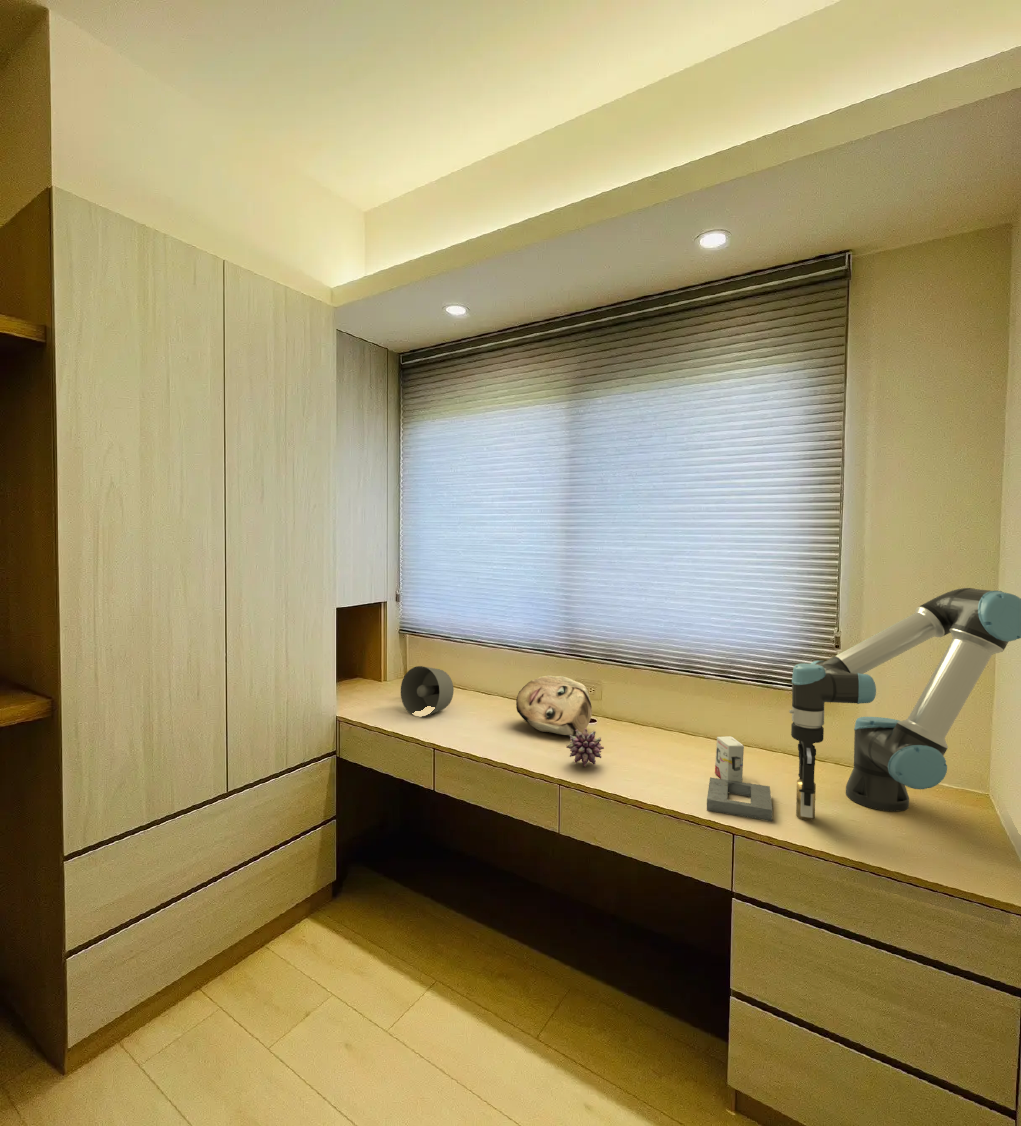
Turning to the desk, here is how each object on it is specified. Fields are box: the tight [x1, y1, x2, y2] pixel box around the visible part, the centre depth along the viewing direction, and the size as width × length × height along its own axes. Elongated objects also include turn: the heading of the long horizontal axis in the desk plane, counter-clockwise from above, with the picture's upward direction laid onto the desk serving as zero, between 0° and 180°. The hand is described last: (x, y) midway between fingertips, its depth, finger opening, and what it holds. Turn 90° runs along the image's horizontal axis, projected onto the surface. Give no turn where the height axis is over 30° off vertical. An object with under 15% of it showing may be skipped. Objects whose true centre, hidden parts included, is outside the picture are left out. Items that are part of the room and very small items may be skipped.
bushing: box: [795, 779, 817, 821], centre depth 154 cm, size 4×4×9 cm
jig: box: [706, 777, 773, 822], centre depth 161 cm, size 16×16×3 cm
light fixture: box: [400, 665, 455, 718], centre depth 251 cm, size 20×25×27 cm
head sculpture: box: [515, 674, 593, 736], centre depth 225 cm, size 23×17×28 cm
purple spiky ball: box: [566, 727, 605, 768], centre depth 187 cm, size 12×12×12 cm
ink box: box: [714, 735, 745, 782], centre depth 178 cm, size 9×5×12 cm, turn 6°
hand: (805, 812), depth 154 cm, fingers closed on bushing, 4 cm apart
